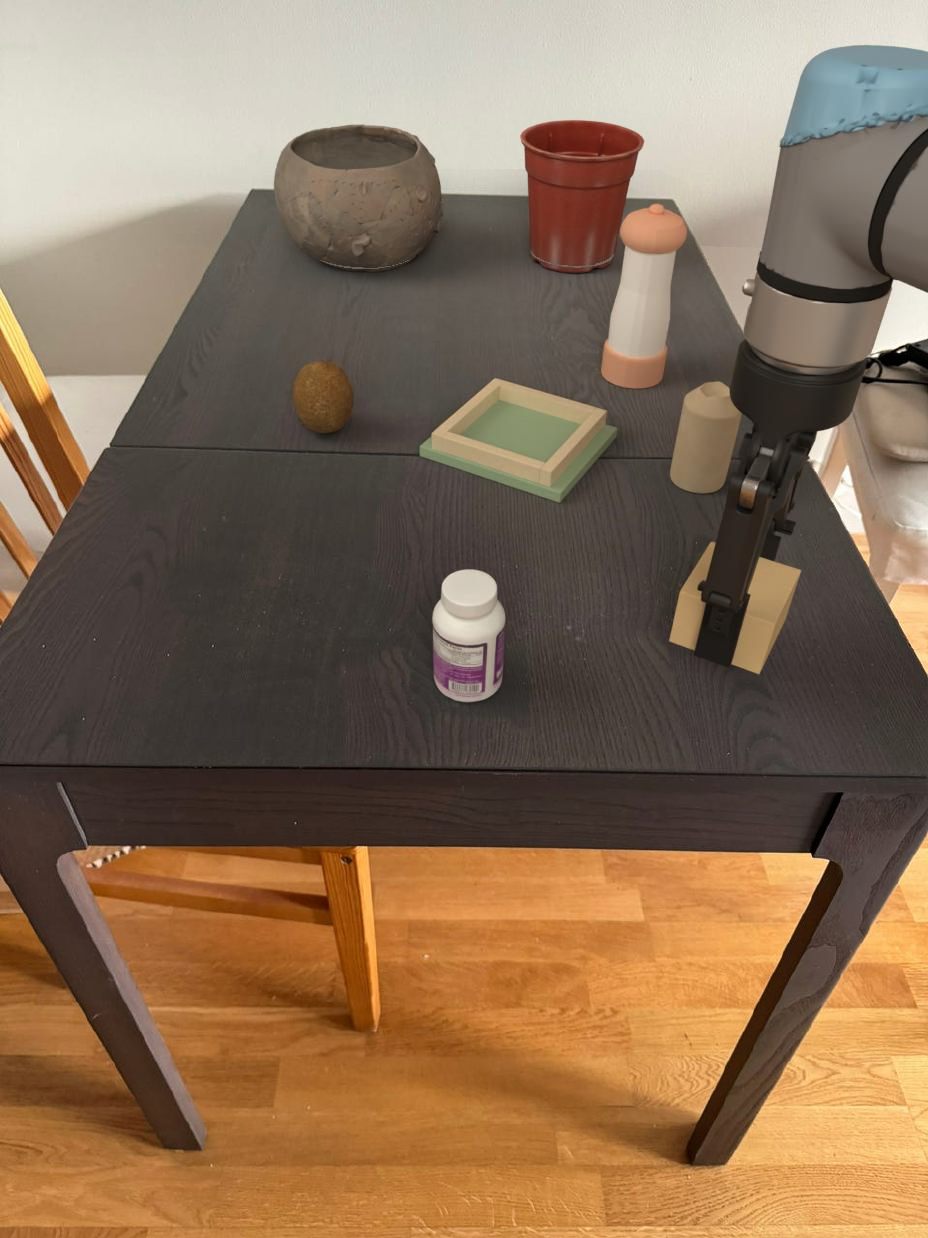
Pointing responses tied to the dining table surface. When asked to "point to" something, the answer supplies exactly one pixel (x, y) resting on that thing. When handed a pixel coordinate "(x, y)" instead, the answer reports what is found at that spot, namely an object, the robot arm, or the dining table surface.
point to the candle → (705, 439)
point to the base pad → (522, 439)
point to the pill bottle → (468, 637)
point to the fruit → (323, 397)
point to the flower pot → (577, 190)
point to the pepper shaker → (643, 298)
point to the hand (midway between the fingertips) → (729, 627)
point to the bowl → (359, 195)
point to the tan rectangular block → (762, 614)
